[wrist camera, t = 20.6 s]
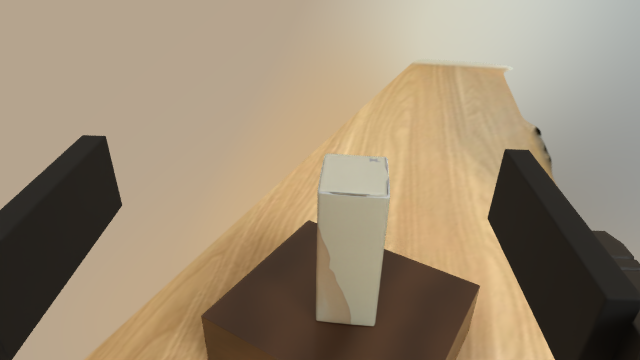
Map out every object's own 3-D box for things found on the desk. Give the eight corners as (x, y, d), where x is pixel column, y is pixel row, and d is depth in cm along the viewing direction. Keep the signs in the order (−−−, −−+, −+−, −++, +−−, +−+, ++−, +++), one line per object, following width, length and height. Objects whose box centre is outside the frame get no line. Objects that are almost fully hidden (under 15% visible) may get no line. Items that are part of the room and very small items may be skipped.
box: (322, 273, 37) (325, 149, 31) (376, 278, 37) (389, 153, 31) (314, 324, 32) (316, 190, 27) (376, 330, 32) (391, 195, 26)
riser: (208, 362, 36) (200, 315, 33) (308, 261, 46) (308, 219, 43) (401, 481, 28) (411, 434, 26) (468, 330, 39) (480, 285, 36)
